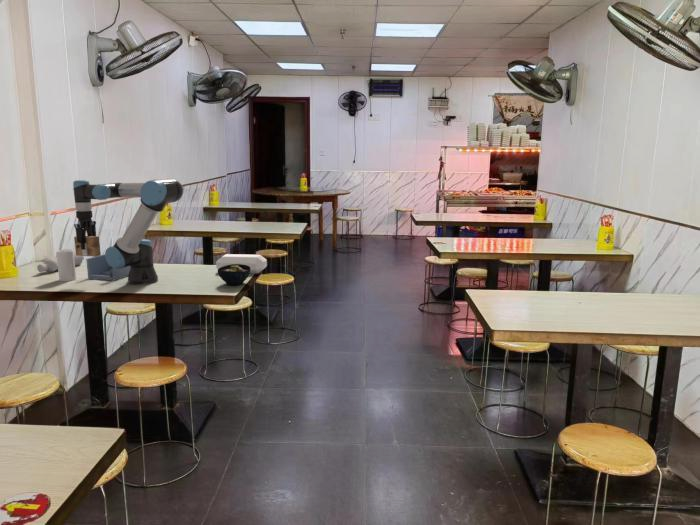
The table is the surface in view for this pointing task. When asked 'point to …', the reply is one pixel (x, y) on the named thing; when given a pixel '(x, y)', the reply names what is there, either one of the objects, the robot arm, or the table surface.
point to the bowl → (234, 274)
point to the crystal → (243, 261)
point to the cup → (66, 265)
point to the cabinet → (104, 269)
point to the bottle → (52, 264)
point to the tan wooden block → (89, 246)
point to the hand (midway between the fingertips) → (88, 254)
